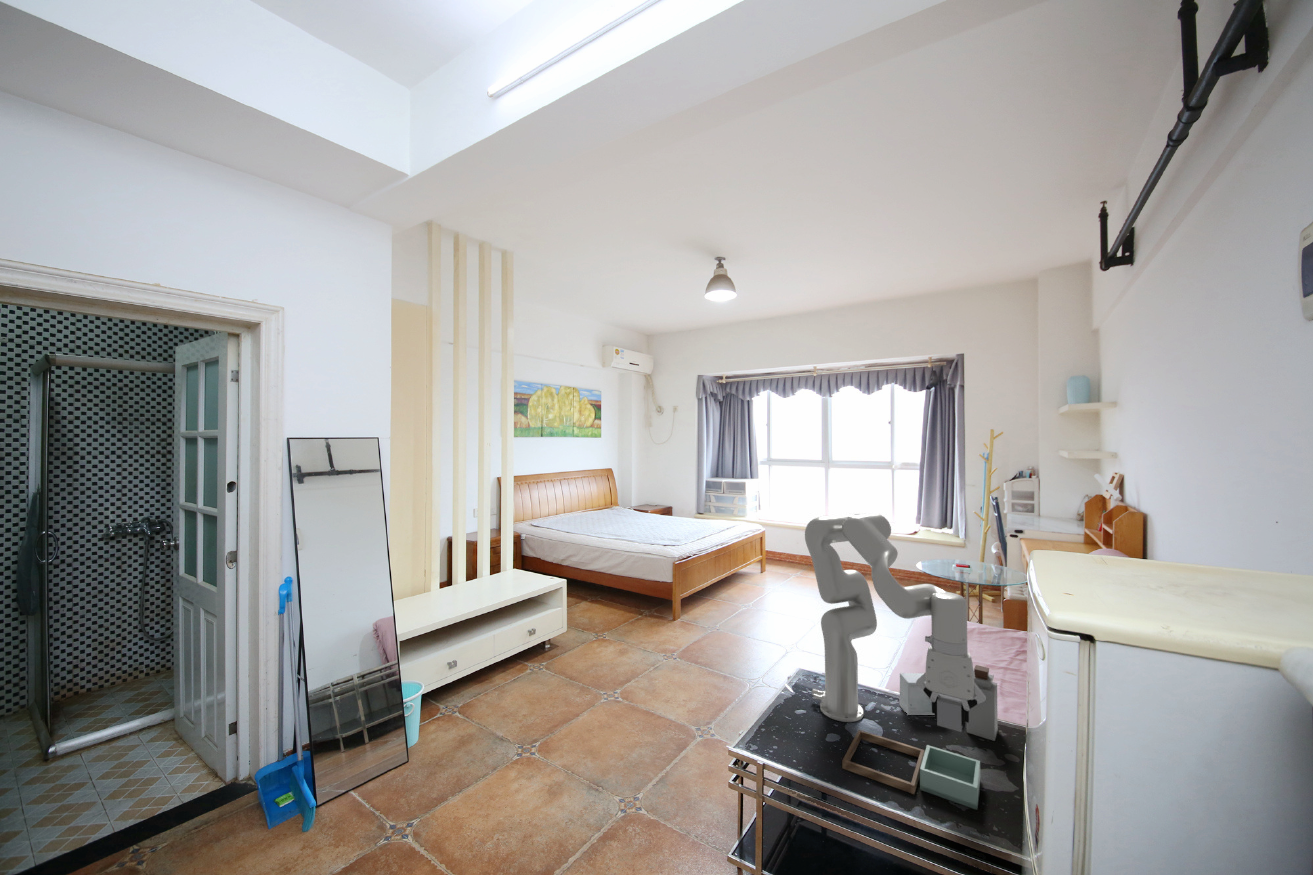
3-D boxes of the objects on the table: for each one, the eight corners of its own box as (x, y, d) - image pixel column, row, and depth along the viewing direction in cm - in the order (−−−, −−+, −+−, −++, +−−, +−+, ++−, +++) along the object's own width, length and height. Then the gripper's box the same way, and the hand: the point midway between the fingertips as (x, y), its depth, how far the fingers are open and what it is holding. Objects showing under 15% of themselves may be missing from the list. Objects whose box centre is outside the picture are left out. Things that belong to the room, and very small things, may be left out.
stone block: (937, 725, 122) (936, 700, 122) (939, 715, 126) (939, 691, 126) (961, 731, 119) (961, 706, 119) (963, 722, 123) (962, 697, 123)
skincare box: (908, 716, 153) (908, 682, 153) (899, 705, 160) (898, 672, 160) (943, 716, 153) (943, 682, 153) (932, 705, 159) (932, 672, 159)
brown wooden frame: (842, 768, 130) (842, 760, 130) (858, 736, 143) (858, 729, 143) (914, 794, 120) (914, 785, 120) (924, 757, 134) (924, 750, 134)
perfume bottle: (970, 721, 150) (969, 661, 150) (997, 729, 146) (997, 667, 146) (966, 732, 145) (966, 669, 145) (994, 741, 141) (994, 676, 141)
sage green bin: (920, 789, 122) (920, 768, 122) (927, 763, 131) (927, 744, 131) (977, 809, 115) (977, 787, 115) (980, 781, 124) (980, 760, 124)
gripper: (907, 642, 125) (908, 716, 125) (990, 659, 115) (991, 739, 115) (913, 632, 131) (913, 703, 131) (992, 648, 121) (993, 724, 121)
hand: (950, 719), depth 123 cm, fingers closed on stone block, 5 cm apart
